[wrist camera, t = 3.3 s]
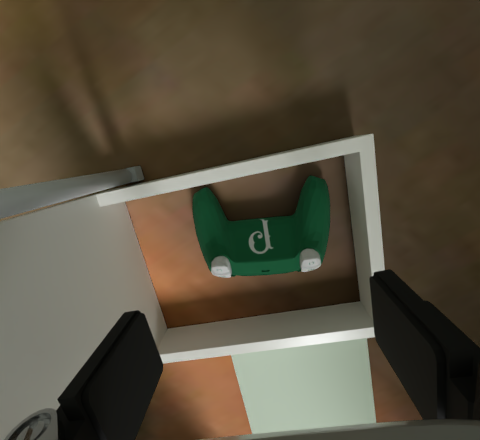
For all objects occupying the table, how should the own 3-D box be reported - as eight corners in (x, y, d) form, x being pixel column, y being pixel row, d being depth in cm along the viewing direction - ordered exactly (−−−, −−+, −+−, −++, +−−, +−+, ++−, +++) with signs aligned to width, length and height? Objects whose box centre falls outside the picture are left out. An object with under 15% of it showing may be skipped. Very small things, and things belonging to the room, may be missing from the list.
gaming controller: (204, 211, 21) (201, 284, 18) (190, 183, 18) (184, 267, 15) (319, 200, 20) (335, 274, 18) (326, 168, 17) (348, 254, 14)
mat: (363, 325, 21) (365, 330, 20) (374, 427, 24) (377, 434, 23) (229, 342, 22) (228, 347, 22) (255, 437, 25) (255, 444, 24)
